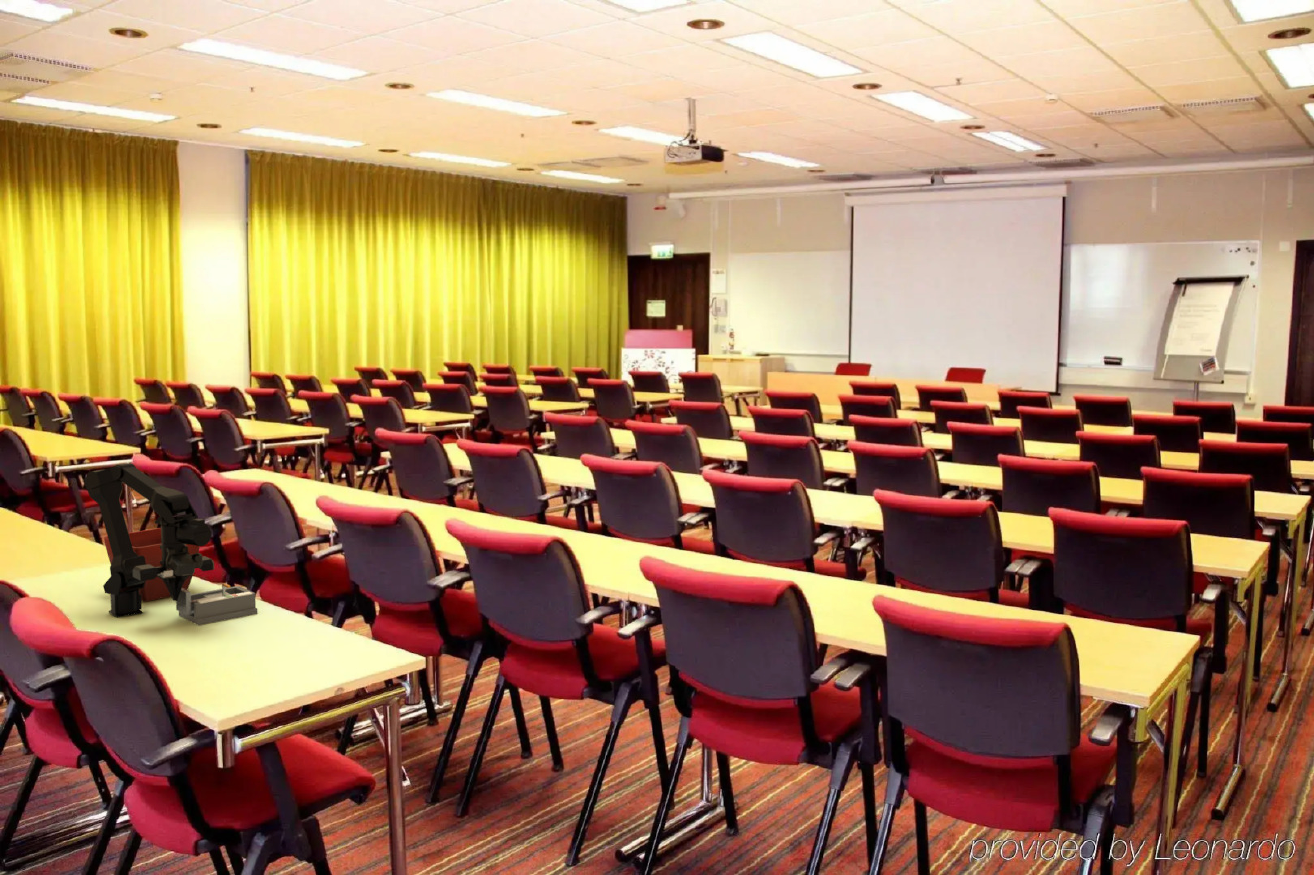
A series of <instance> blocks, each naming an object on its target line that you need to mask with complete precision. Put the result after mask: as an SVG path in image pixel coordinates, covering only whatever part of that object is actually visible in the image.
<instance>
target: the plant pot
mask: <svg viewBox="0 0 1314 875" xmlns="http://www.w3.org/2000/svg"><path fill="white" fill-rule="evenodd" d="M128 533H129V536H130V540H131V543H132V547H133V550H134V552H135V553H136V554H137V555H138V556H142V555H143V556H144V557H145V562H146V565H148V564H149V565H152V566H154V567H160V566H162V565H161V564H160V560H162V549H160V545H161V527H156V528H152V529H150V528H149V529H144V530H140V531H139V530H138V531H133V532H128ZM103 540H104V545H105V550H106V553H107V556H108V560H109V562H110V565H111V563H112V560H113V553H112V550H111V546H110V543H109V539H108V536H107V535H106V536H104V537H103ZM186 546H188V552H189V555H191V554H196V553H200V547H201V546H195V545H189V544H186ZM170 569H171V568H170ZM193 577H194V573H193V574H192V576H190V577H188V578H187V579H186V580H185V582H184V584H183V586H182V588H184V589H186V590H188V591H189V587H190V584H191V582H192V578H193ZM139 594H141V602H151V601H155V600H160V599H165V598H169V597H170V598H171V595H170V593H169V591H168V589H167V587H166V585H165V583H164V582H163V580H162V579H160V578H158V577H156V578H155V579H152V580H146V582H145V586H144V588H141V589H139Z"/></svg>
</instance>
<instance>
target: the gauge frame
mask: <svg viewBox="0 0 1314 875" xmlns="http://www.w3.org/2000/svg"><path fill="white" fill-rule="evenodd" d="M220 592H222V588H219V589H214V590H213V589H212V590H207V591H202V592H201V591H200V592H196V593H191V600H195V599H201V598H203V595H209V594H215V593H220ZM225 592H227V593H229V594H231V595H225V596H222V597H217V598H211V599H206V600H200V601H197V602H198V603H194V609H193V610H191V614H190V615H185V614H184V613H182V612H180V611H178V616H179V617H180V618H183V619H184V620H187V621H189V622H191V623H193V624H194V623H195V624H194V625H197V626H203V625H208V624H211V623H218V622H222V621H224V622H225V621H228V619H229V620H233V619H238V618H243V617H247V616H254V615H258V607H256V604H257V603H256V602H257V601H256V593H255V592H254V591H251V590H249V589H247V588H244V587H242V586H240V585H235V586H230V588H227V587H225Z"/></svg>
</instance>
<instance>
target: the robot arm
mask: <svg viewBox="0 0 1314 875" xmlns="http://www.w3.org/2000/svg"><path fill="white" fill-rule="evenodd" d="M83 480H84V485H85V486H84V487H85V489H86V491H87V493H88V496H89V497H90V498H91V499H92V500H93V501H94V502H95V503H96V504H97V505H98V507H99V511H100V513H101V517H102V521H103V525H104V528H105V531H106V532H105V533H106V534H107V535H106V536H108V539H109V543H110V546H111V550H112V553H113V560H112V563H111V564H110V565H109V571H110V572H109V573H110V577H109V578H108V579H107V580H106V582H104V584H103V586H102V587H103V590H104V594H106V595H107V594H108V595H110V610H108V613H109V614H111V615H112V616H114V617H116V618H122V617H128V616H133V615H139V614H142V613H143V610H142V601H141V594H139V589H141V588H144V586H145V582H146V580H152V579H155V578H156V577H158V578H160V579H162V580H163V582H164V583H165V585H166V587H167V589H168V591H169V593H170V595H171V596H170V598H171V599H172V601H173V602H176V601H177V600H178V597H179V594H180V591H181V588H182V586H183V584H184V582H185V580H186V579H187V578H188V577H190V576H192V574H193V575H194V574H195V571H196V569H199V570H201V571H202V572H207V571H213V570H215V562H214V560H213V559H212V558H209V557H208V556H205V555H202V554H201V552H199V553H196V554H191V555H189V552H188V546H186V544H189V545H195V546H200V547H204V546H206V545H208V543H209V542H210V541H211V538H212V530H211V527H210V526H209V525H208V524H206V519H203V518H200V519H199V516H198V514H197V511H196V510H195V509H194V507H193V505H192V503H191V502H190V500H189V497H188V495H186V493H184V492H182V491H179V490H177V489H174V488H170V487H169V488H168V487H166V486H163V485H161V484H160V483H159V482H157V481H156V480H154V479H153V478H151V477H150V476H148V475H147V474H146V473H144V472H142V471H141V470H140V469H138V468H137V466H136V465H135V464H133V463H131V462H126V463H121V464H120V463H119V464H116V465H115V464H114V466H112V467H109V468H106V469H98V470H93V471H89V472H88V473H87V474H86V476H85V478H84V479H83ZM123 484H125V486H127V487H129V488H131V489H132V490H133V491H135V492H136V493H138V494H139V495H141V497H143V498H145V499H146V500H147V501H148V502H150V506H151V509H152V510H153V511H154V512H155V513H156V514H157V515H158V516H159V517H158V518H157V519H156V520H154V524H157V525H160V528H161V545H160V549H162V560H160V564H161V565H162V566H160V567H154V566H152V565H149V564H148V565H146V562H145V557H144V556H143V555H142V556H138V555H137V554H136V553H135V552H134V550H133V547H132V543H131V540H130V536H129V533H130V532H129V529H128V526H127V523H126V519H125V515H124V512H123V509H122V505H121V501H120V499H121V496H122V491H123ZM170 568H171V569H170ZM192 577H193V576H192Z"/></svg>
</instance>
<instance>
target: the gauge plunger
mask: <svg viewBox="0 0 1314 875" xmlns="http://www.w3.org/2000/svg"><path fill="white" fill-rule="evenodd" d="M230 587H231V585H230V584H227V583H225V582H224V583H221V589H222V592H220V593H215V594H209V595H203V598H201V599H195V600H191V594H192V592H191V591H190V590H189V589H188V590H186V589H184V588H181V591H180V594H179V597H178V600H177V601H175V608H176V609H175V610H176V611H178V612H179V611H180V612H182V613H184V614H185V615H190V614H191V610H193V609H194V603H198V602H197V601H200V600H206V599H211V598H217V597H222V596H225V595H231V594H229V593H227V592H225V588H230Z"/></svg>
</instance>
